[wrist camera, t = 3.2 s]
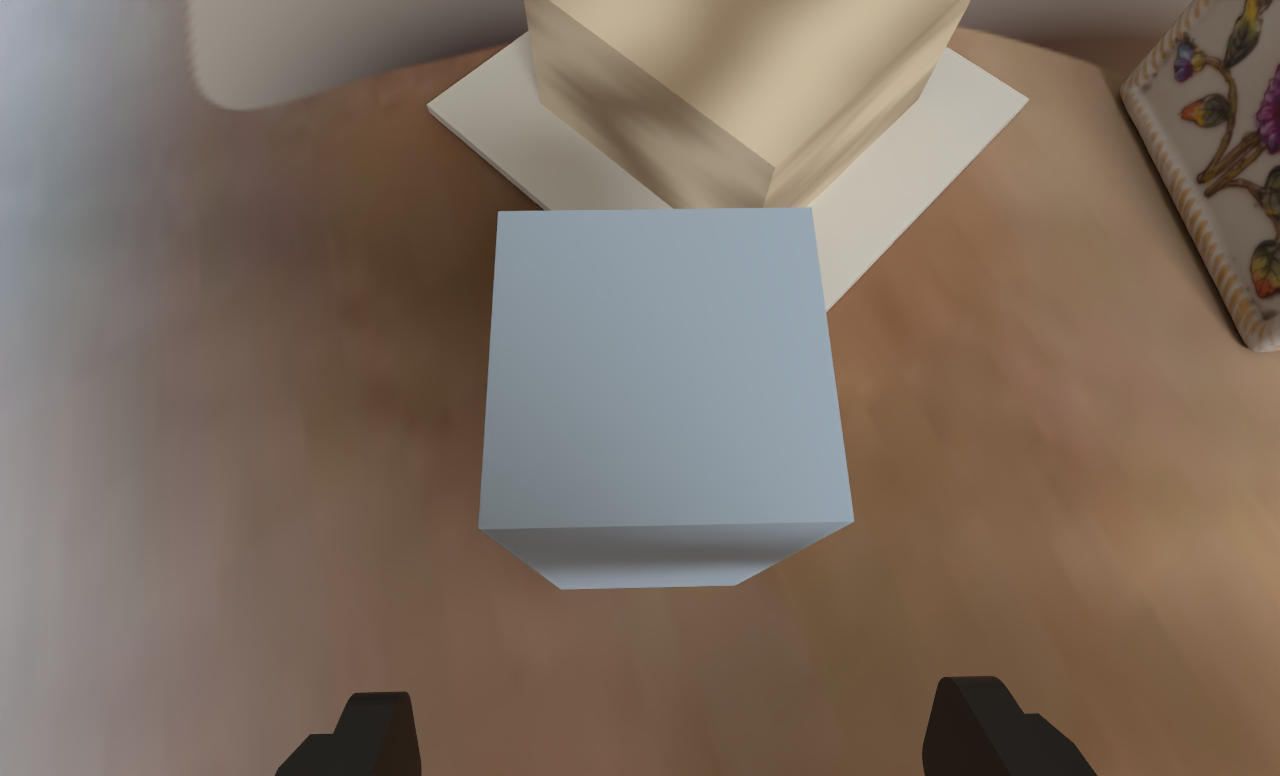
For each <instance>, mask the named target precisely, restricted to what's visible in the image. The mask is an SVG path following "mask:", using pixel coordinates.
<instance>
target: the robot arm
mask: <svg viewBox="0 0 1280 776" xmlns="http://www.w3.org/2000/svg"><path fill="white" fill-rule="evenodd" d="M922 760H923V768H924V773H925V776H1097V775H1096V773H1095V772H1094V770H1093V769H1092V768H1091V766H1090V765H1089V764H1088V762H1087V761H1086V759H1085V758H1084V757H1083V755H1082V754H1081V752H1080V751H1079V750H1078V748H1077V747H1076V746H1075V744H1074V743H1073V742H1071V741H1070V740H1069V739H1068V738H1067V737H1066V736H1064V735H1063V734H1062V733H1061V732H1060V731H1058V730H1057V729H1056V728H1055V727H1054V726H1053V725H1051V724H1050V723H1049V722H1048V721H1047V720H1046V719H1044V718H1043V717H1042V716H1041V715H1040V714H1038V713H1037V714H1024V713H1023V711H1022V710H1021V708H1020V707H1019V705H1018V704H1017V702H1016V701H1015V699H1014V698H1013V696H1012V695H1011V693H1010V692H1009V690H1008V689H1007V688H1006V686H1005V685H1004V684H1003V683H1002V682H1001V681H1000V680H999V679H998V678H996V677H994V676H969V677H944V678H942V679H941V680H940V681H939V683H938V686H937V690H936V694H935V698H934V702H933V706H932V710H931V714H930V719H929V723H928V727H927V731H926V735H925V739H924V743H923V749H922ZM275 776H421V759H420V753H419V747H418V741H417V735H416V729H415V723H414V717H413V711H412V705H411V700H410V696H409V694H408V693H407V692H369V693H354V694H353V695H352V696H351V697H350V698H349V700H348V702H347V704H346V706H345V708H344V710H343V712H342V715H341V717H340V719H339V721H338V724H337V726H336V728H335V730H334V733H333V734H310V735H309V736H308V737H307V738H306V739H305V740H304V742H303V743H302V744H301V745H300V746H299V747H298V748H297V749H296V750H295V751H294V752H293V753H292V754H291V755H290V756H289V758H288V759H287V760H286V761H285V762H284V763H283V764H282V765H281V766H280V767H279V768H278V770H277V772H276V774H275Z"/></svg>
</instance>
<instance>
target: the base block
mask: <svg viewBox="0 0 1280 776" xmlns="http://www.w3.org/2000/svg"><path fill="white" fill-rule="evenodd" d="M969 2H970V0H524V6H525V12H526V18H527V23H528V30H529V35H530V41H531V47H532V53H533V59H534V65H535V71H536V77H537V83H538V89H539V95H540V101H541V104H542V105H543V106H545V107H546V108H547V109H548V110H550V111H551V112H552V113H553V114H555V115H556V116H557V117H559V118H560V119H561V120H562V121H564V122H565V123H566V124H567V125H569V126H570V127H571V128H572V129H574V130H575V131H576V132H577V133H579V134H580V135H581V136H582V137H584V138H585V139H586V140H587V141H589V142H590V143H591V144H592V145H594V146H595V147H596V148H597V149H599V150H600V151H601V152H602V153H604V154H605V155H606V156H608V157H609V158H610V159H611V160H613V161H614V162H615V163H616V164H618V165H619V166H620V167H621V168H623V169H624V170H625V171H626V172H628V173H629V174H630V175H631V176H633V177H634V178H635V179H636V180H638V181H639V182H640V183H641V184H643V185H644V186H645V187H646V188H648V189H649V190H650V191H651V192H653V193H654V194H655V195H657V196H658V197H659V198H660V199H662V200H663V201H664V202H665V203H667V204H668V205H669V206H670V207H672V208H673V209H717V208H797V207H807V206H808V205H809V204H810V203H811V202H813V201H814V200H815V199H816V198H817V197H818V196H819V195H820V194H821V193H822V192H823V191H824V190H825V189H826V188H827V187H828V186H829V185H830V184H831V183H832V182H833V181H834V180H835V179H836V178H837V177H838V176H840V175H841V174H842V173H843V172H844V171H845V170H846V169H847V168H848V167H849V166H850V165H851V164H852V163H853V162H854V161H855V160H856V159H857V158H858V157H859V156H860V155H861V154H862V153H863V152H864V151H865V150H867V149H868V148H869V147H870V146H871V145H872V144H873V143H874V142H875V141H876V140H877V139H878V138H879V137H880V136H881V135H882V134H883V133H884V132H885V131H886V130H887V129H888V128H889V127H890V126H891V125H892V124H894V123H895V122H896V121H897V120H898V119H899V118H900V117H901V116H902V115H903V114H904V113H905V112H906V111H907V110H908V109H909V108H910V107H911V106H912V105H913V104H914V103H915V102H916V101H917V100H918V99H919V97H920V95H921V93H922V91H923V89H924V87H925V86H926V84H927V82H928V80H929V78H930V76H931V74H932V72H933V70H934V69H935V67H936V65H937V63H938V61H939V59H940V57H941V55H942V53H943V52H944V50H945V48H946V46H947V44H948V42H949V40H950V38H951V36H952V35H953V33H954V31H955V29H956V27H957V25H958V23H959V21H960V19H961V17H962V16H963V14H964V12H965V10H966V8H967V6H968V4H969Z"/></svg>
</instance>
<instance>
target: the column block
mask: <svg viewBox="0 0 1280 776" xmlns="http://www.w3.org/2000/svg"><path fill="white" fill-rule="evenodd" d="M852 522H854V515H853V508H852V501H851V493H850V486H849V479H848V471H847V464H846V456H845V449H844V442H843V434H842V427H841V420H840V412H839V405H838V398H837V390H836V383H835V375H834V368H833V361H832V353H831V346H830V339H829V331H828V324H827V317H826V309H825V302H824V294H823V287H822V280H821V272H820V265H819V258H818V250H817V243H816V236H815V228H814V221H813V214H812V207H797V208H717V209H637V210H557V211H498V223H497V239H496V255H495V271H494V287H493V303H492V319H491V335H490V351H489V367H488V383H487V399H486V415H485V431H484V447H483V463H482V479H481V495H480V511H479V527H478V530H480V531H481V532H483V533H484V534H485V535H487V536H488V537H490V538H491V539H492V540H494V541H495V542H496V543H498V544H499V545H501V546H502V547H503V548H505V549H506V550H507V551H509V552H510V553H512V554H513V555H514V556H516V557H517V558H519V559H520V560H521V561H523V562H524V563H525V564H527V565H528V566H530V567H531V568H532V569H534V570H535V571H536V572H538V573H539V574H541V575H542V576H543V577H545V578H546V579H547V580H549V581H550V582H552V583H553V584H554V585H556V586H557V587H559V588H560V589H600V588H644V587H688V586H731V585H737V584H739V583H741V582H742V581H744V580H746V579H748V578H750V577H752V576H754V575H756V574H757V573H759V572H761V571H763V570H765V569H767V568H769V567H770V566H772V565H774V564H776V563H778V562H780V561H782V560H783V559H785V558H787V557H789V556H791V555H793V554H795V553H796V552H798V551H800V550H802V549H804V548H806V547H808V546H810V545H811V544H813V543H815V542H817V541H819V540H821V539H823V538H824V537H826V536H828V535H830V534H832V533H834V532H836V531H837V530H839V529H841V528H843V527H845V526H847V525H849V524H850V523H852Z"/></svg>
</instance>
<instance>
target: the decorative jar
mask: <svg viewBox="0 0 1280 776" xmlns="http://www.w3.org/2000/svg"><path fill="white" fill-rule="evenodd" d="M1120 96H1121V99H1122V101H1123V103H1124V105H1125V107H1126V109H1127V112H1128V114H1129V116H1130V118H1131V119H1132V121H1133V123H1134V124H1135V126H1136V128H1137V130H1138V131H1139V133H1140V136H1141V138H1142V139H1143V141H1144V143H1145V146H1146V148H1147V150H1148V152H1149V155H1150V156H1151V158H1152V160H1153V162H1154V164H1155V165H1156V167H1157V169H1158V171H1159V173H1160V175H1161V178H1162V180H1163V182H1164V184H1165V186H1166V188H1167V189H1168V191H1169V193H1170V196H1171V198H1172V200H1173V202H1174V204H1175V206H1176V208H1177V209H1178V211H1179V213H1180V216H1181V218H1182V220H1183V221H1184V223H1185V225H1186V227H1187V230H1188V232H1189V234H1190V236H1191V238H1192V239H1193V241H1194V243H1195V245H1196V247H1197V249H1198V251H1199V253H1200V255H1201V257H1202V259H1203V261H1204V263H1205V265H1206V268H1207V270H1208V272H1209V273H1210V275H1211V277H1212V279H1213V281H1214V283H1215V285H1216V287H1217V289H1218V291H1219V293H1220V295H1221V297H1222V299H1223V302H1224V303H1225V305H1226V307H1227V309H1228V311H1229V313H1230V315H1231V317H1232V319H1233V321H1234V323H1235V326H1236V328H1237V330H1238V332H1239V334H1240V336H1241V337H1242V339H1243V341H1244V343H1245V344H1246V346H1247V347H1248V348H1249V349H1250V350H1252V351H1253V352H1257V353H1262V352H1275V351H1280V0H1193V1H1192V2H1191V4H1190V5H1189V6H1188V7H1187V8H1186V10H1185V11H1184V12H1183V13H1182V14H1181V15H1180V17H1179V18H1178V19H1177V20H1176V21H1175V23H1174V24H1173V25H1172V26H1171V28H1170V29H1169V30H1168V31H1167V32H1166V33H1165V34H1164V36H1163V37H1162V38H1161V39H1160V40H1159V41H1158V42H1157V44H1156V45H1155V47H1154V48H1153V49H1152V50H1151V51H1150V52H1149V53H1148V55H1147V56H1146V57H1145V58H1144V59H1143V60H1142V61H1141V63H1140V64H1139V65H1138V66H1137V68H1136V69H1135V70H1134V71H1133V72H1132V73H1131V74H1130V76H1129V77H1128V78H1127V79H1126V80H1125V81H1124V82H1123V84H1122V85H1121V87H1120Z"/></svg>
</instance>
